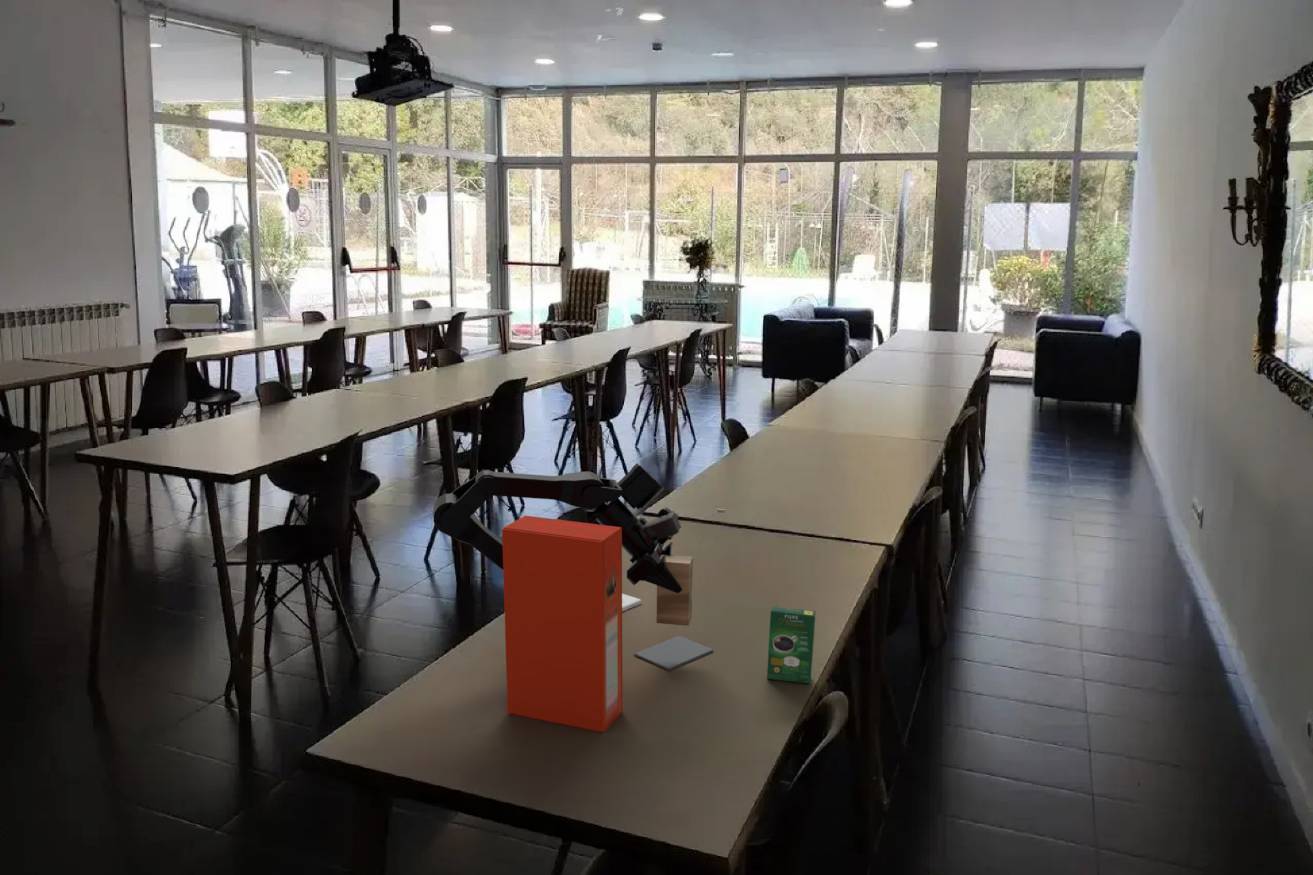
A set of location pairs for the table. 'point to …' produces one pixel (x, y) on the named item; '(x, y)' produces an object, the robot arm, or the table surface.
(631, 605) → the external hard drive
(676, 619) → the tall wooden block tower
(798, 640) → the coffee box
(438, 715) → the table surface
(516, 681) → the file binder
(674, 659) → the mat
